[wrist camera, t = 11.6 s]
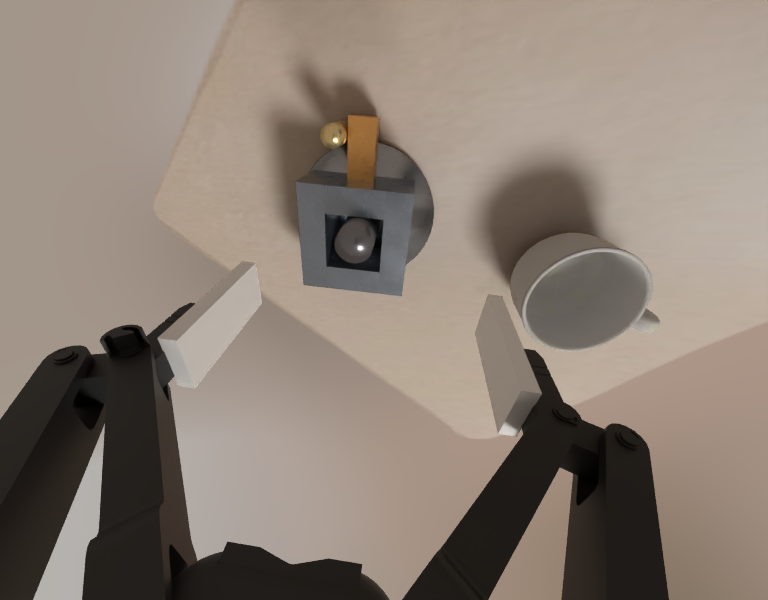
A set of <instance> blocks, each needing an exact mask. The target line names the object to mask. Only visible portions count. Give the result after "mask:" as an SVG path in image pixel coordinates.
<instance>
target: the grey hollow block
mask: <svg viewBox="0 0 768 600" xmlns="http://www.w3.org/2000/svg"><path fill="white" fill-rule="evenodd" d="M379 125H380V117H378V116H367V115H357V114H351V115H348V160H347V173H340V172H330V171H320V170H313V171H312V172H310V173H308V174H307V175H305V176H304V177H302V178H301V179H299V180H298V181H296V182H295V183H296V196H297V208H298V221H299V233H300V245H301V258H302V270H303V283H304V285H308V286H317V287H326V288H335V289H344V290H352V291H361V292H370V293H379V294H388V295H396V296H402V289H403V281H404V273H405V266H406V258H407V250H408V243H409V235H410V227H411V220H412V212H413V205H414V197H415V180H409V179H399V178H389V177H379V176H376V174H377V158H378V141H379ZM338 215H343V216H353V217H362V218H372V219H381V220H384V222H383V234H382V247H381V249H376V248H373V250H372V253H371V255H370V256H369V258H368V259H367V260H365V261H363V262H361V263H349V262H347V261H345V260H343V259H342V258H341V257H340V256H339V255H338V254H337V252H336V249H335V238H336V236H337V234H338Z"/></svg>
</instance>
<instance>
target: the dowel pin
mask: <svg viewBox="0 0 768 600" xmlns="http://www.w3.org/2000/svg"><path fill="white" fill-rule="evenodd" d="M320 139H321V141H322V143H323V145H324V146H325V147H327V148H329V149H335V148H337V147H339V146H341V145H343V144H345V143H346V142H348V122H347V121H344V120H341V121H337V122H333V123H329V124H326V125H324V126H323V127H322V129H321V131H320Z"/></svg>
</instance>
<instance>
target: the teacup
mask: <svg viewBox="0 0 768 600" xmlns="http://www.w3.org/2000/svg"><path fill="white" fill-rule="evenodd" d="M652 287H653V282H652V277H651V274H650V271H649V269H648V267H647V266H646V265H645V264H644V263H643V262H642V261H641V260H640V259H639V258H638V257H637V256H635V255H633V254H632V253H630V252H628V251H625V250H622V249H620V248H618V247H616V246H615V245H613V244H611V243H609V242H607V241H605V240H602V239H600V238H598V237H595V236H592V235H589V234H584V233H563V234H558V235H554V236H551V237H548V238H546V239H544V240H542V241H540V242H538V243H537V244H535V245H533V246H532V247H531V248H530V249H528V250H527V251H526V252H525V253H524V254H523V255H522V257H521V258H520V259H519V261H518V262H517V264H516V266H515V268H514V270H513V273H512V276H511V282H510V291H511V296H512V300H513V302H514V305H515V307H516V309H517V311H518V313H519V315H520V317H521V319H522V322H523V325H524V327H525V329H526V331H527V332H528V334H529V335H530V336H531V337H532V338H533V339H534V340H535V341H536V342H538V343H539V344H541V345H543V346H545V347H548V348H552V349H554V350H560V351H582V350H587V349H592V348H595V347H599V346H601V345H603V344H606V343H608V342H610V341H612V340H614V339H616V338H617V337H619V336H620V335H621V334H623V333H624V332H625V331H627V330H628V329H629V328H630V327H632V328H634V329H636V330H638V331H640V332H643V333H651V332H653V331H654V330H655V329H656V328H657V327H658V326H659V325H660V320H659V319H658V317H657V316H656V315H655V314H653V313H652V312H650V311H649V310H648V309H646V307H647V305H648V303H649V301H650V298H651V295H652Z"/></svg>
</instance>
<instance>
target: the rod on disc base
mask: <svg viewBox="0 0 768 600" xmlns="http://www.w3.org/2000/svg"><path fill="white" fill-rule="evenodd" d="M347 160H348V143H346V144H343V145H341V146H339V147H337V148H335V149H333V150H331V151H329V152H328V153H326V154H325V155H324V156H323V157H321V158H320V159H319V160H318V161H317V163H316V164H315V165H314V166H313V168H312V169H311V171H310V172H312V171H313V170H320V171H330V172H340V173H347ZM310 172H309V173H310ZM376 176H379V177H389V178H399V179H409V180H415V197H414V205H413V212H412V220H411V227H410V235H409V243H408V250H407V258H406V264H407V263H409V262H410V261H411V260H412V259H414V258H415V257H416V256H417V255H418V253H419V252H420V251H421V250H422V248H423V247H424V245H425V243H426V242H427V240H428V237H429V235H430V232H431V229H432V225H433V217H434V206H433V199H432V194H431V191H430V187H429V185H428V183H427V180H426V178H425V177H424V175H423V173H422V172H421V170H420V169H419V168H418V166H417V165H416V164H415V163H414V162H413V161H412V160H411V159H410V158H409V157H408V156H406V155H405V154H404V153H402V152H401V151H399V150H397V149H395V148H394V147H392V146H389V145H386V144H383V143H379V142H378V158H377V174H376ZM383 222H384V220H381V219H372V218H362V217H353V216H343V215H338V234H337V236H336V238H335V249H336V252H337V254H338V255H339V256H340V257H341V258H342V259H343V260H345V261H347V262H349V263H361V262H363V261H365V260H367V259H368V258H369V256H370V255H371V253H372V250H373V248H376V249H381V247H382V234H383Z"/></svg>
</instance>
